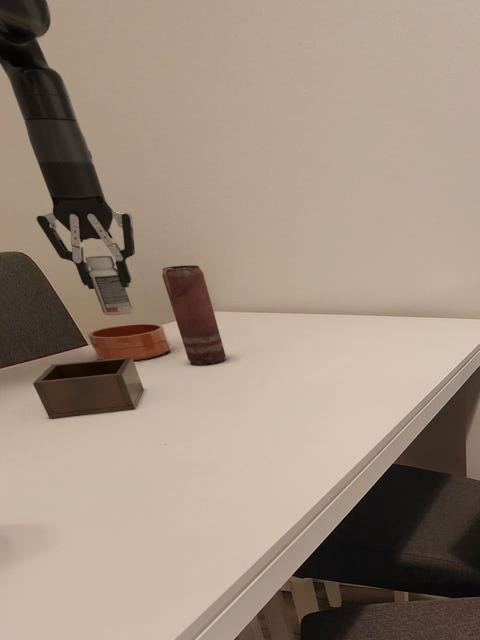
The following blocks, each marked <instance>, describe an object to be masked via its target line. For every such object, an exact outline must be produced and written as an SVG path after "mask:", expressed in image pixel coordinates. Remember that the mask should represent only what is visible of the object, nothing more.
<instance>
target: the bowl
mask: <svg viewBox="0 0 480 640" xmlns="http://www.w3.org/2000/svg"><path fill="white" fill-rule="evenodd" d="M88 338H89V340H90V342H91V346H92V348H93V351H94V353H95V356H96V358H97V359H98V360H106V359H117V358H128V357H132V358H133V361H134V362H135V361H143V360H147V359H153V358H157V357H159V356H163V355H164V354H166V353H167V352H168V351H170V350H171V345H170V343H169V340H168V336H167V333H166V331H165V327H164V326H163V325H162V324H156V323H134V324H133V323H132V324H122V325H115V326H108V327H104V328H100V329H96V330H94V331H91V332H89V333H88Z"/></svg>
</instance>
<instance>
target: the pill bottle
mask: <svg viewBox="0 0 480 640" xmlns="http://www.w3.org/2000/svg"><path fill="white" fill-rule="evenodd" d="M84 260H85V261H86V262H87V265H88V268H89V269H90V270H89V271H90V272H89V276H90V279H91V281H92V284H93V287H94V289H93V290H94V292H95V294H96V297H97V300H98V302H99V305H100V307H101V310H102V313H103V315H107V316H121V315H128V314H131V313H133V312H134V309H133V307H132V304H131V301H130V298H129V294H128V292H127V290H126V287H123V284H122V281H121V278H120V275H119V272H118V270H117V268H116V264H115V262H114V259H113V257H112V256H111V255H97V256H96V255H93V256H86V257H84Z"/></svg>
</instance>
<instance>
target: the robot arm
mask: <svg viewBox="0 0 480 640" xmlns="http://www.w3.org/2000/svg"><path fill="white" fill-rule="evenodd" d="M51 23H52V16H51V10H50V6H49V4H48V1H47V0H0V66H1V69H2V70H3V71H4V73H5V75H6V77H7V79H8V80H9V83H10V85H11V88H12V92H13V94H14V97H15V100H16V102H17V106H18V108H19V110H20V114H21V116H22V119H23V121H24V122H23V123H24V124H25V128H26V131H27V132H26V133H27V136H28V139H29V143H30V145H31V149H32V150H33V154H34V156H35V159H36V161H37V165H38V167H39V169H40V172H41V175H42V178H43V180H44V183H45V185H46V188H47V191H48V194H49V197H50V199H51V202H52V212H51V213H48V214H45V215H43V214H42V215H37V216H36V222H37V223H38V225H39V227H40V229H42V231H43V233H44V234H45V236H46V238H47V239H48V240H49V242H50V245H52V247H53V249H54V251H56V253H57V255H58V256H59V258H60V259H62V260H66V261H70V262H72V263H73V264H74V265H75V267H76V269H77V272H78V276H79V278H80V280H81V283H82V284H83V286H87V288H88V290H95V289H94V287H93V284H92V281H91V279H90V276H89V272H90V271H91V270H90V268H89V266H88V265H87V262H85V254H84V253H85V251H84V250H85V249H84V248H85V241H87V240H90V239H94V240H101V241H102V242H103V243H104V245H105V246H106V247H107V249H108V250H109V252H110V253H111V255H112V256H113V257H114V260H115V262H114V265H115V268H116V269H117V270H118V272H119V275H120V278H121V281H122V284H123V287H125V288H129V287H130V284H131V283H132V276H131V273H130V270H129V267H128V264H127V259H128V258H130V257H133V256H134V255H135V253H136V251H135V250H136V249H135V248H136V247H135V238H134V224H133V217H132V215H131V214H130V213H128V212H119V211H115V210H113V209H112V208H111V207H110V205H109V204H108V202H107V200H106V198H105V195H104V191H103V189H102V188H103V187H102V185H101V182H100V180H99V179H100V178H99V176H98V173H97V171H96V167H95V164H94V161H93V156H92V153H91V150H90V149H89V146H88V143H87V140H86V138H85V136H84V134H83V131H82V129H81V126H80V124H79V122H78V118H77V115H76V111H75V109H74V106H73V103H72V100H71V97H70V94H69V91H68V89H67V86H66V83H65V81H64V79H63V77H62V76H61V74H60V73H58V71H57V70H55V69H54V68H52V67H50V66H49V63H48V61H47V59H46V56H45V54H44V52H43V50H42V48H41V45H40V42H39V40H38V39H40V38H43V37H44V36H45V35H46V34H48V31H49V30H50V27H51ZM113 219H114V220H115V221H116V224H117V226H118V227H119V228H120V229H122V237H123V247H124V248H123V249H121V248H120V246H119V244H118V243H117V241H116V239H115V237H114V236H113V235H112V233H111V231H110V229H111V225H112V223H113ZM57 221H58V222H59V223H60V224H61V225H62V226H63V227H64V228H65V229H67V231H68V232H69V233H70V245H71V251H70V250H69V249H68V247H67V246H66V245H65V243H64V241H63V240H62V238H61V236H60V234H59V233H58V227H59V225H58V224H57Z"/></svg>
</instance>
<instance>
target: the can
mask: <svg viewBox="0 0 480 640" xmlns="http://www.w3.org/2000/svg"><path fill="white" fill-rule="evenodd" d="M161 275H162V279H163V282H164V287H165V289H166V292H167V296H168V298H169V301H170V305H171V308H172V311H173V315H174V318H175V322H176V325H177V327H178V331H179V334H180V337H181V341H182V344H183V347H184V350H185V353H186V356H187V360H188V361H189V362H190V364H192V365H195V366H209V365H215V364H220V363H222V362H224V361H225V359H226V352H225V348H224V344H223V341H222V337H221V333H220V329H219V327H218V322H217V319H216V316H215V312H214V307H213V304H212V301H211V297H210V293H209V290H208V286H207V282H206V279H205V275H204V272H203V271H202V269H201V268H200V266H199V265H192V264H191V265H175V266H167V267H163V268H162V274H161Z"/></svg>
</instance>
